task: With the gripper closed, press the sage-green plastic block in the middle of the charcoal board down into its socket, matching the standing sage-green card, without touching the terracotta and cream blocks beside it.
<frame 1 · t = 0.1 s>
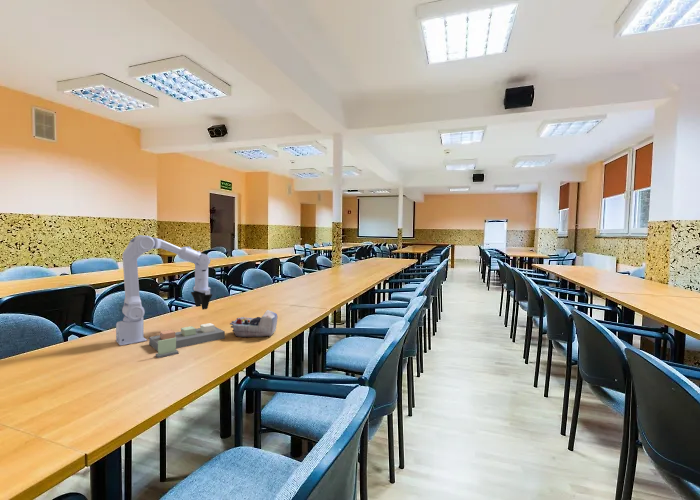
hand: (201, 307, 160), 10 cm above the table, tool pointing down, fingers open, 7 cm apart
terracotta block: (167, 336, 136), point 4 cm above the table, slide at 0.0 cm, touching button board
prompt card: (167, 354, 126), on the table
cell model: (254, 335, 154), on the table
sage block: (188, 332, 142), point 4 cm above the table, slide at 0.0 cm
button board: (188, 341, 142), on the table
cream block: (207, 329, 148), point 4 cm above the table, slide at 0.0 cm, touching button board
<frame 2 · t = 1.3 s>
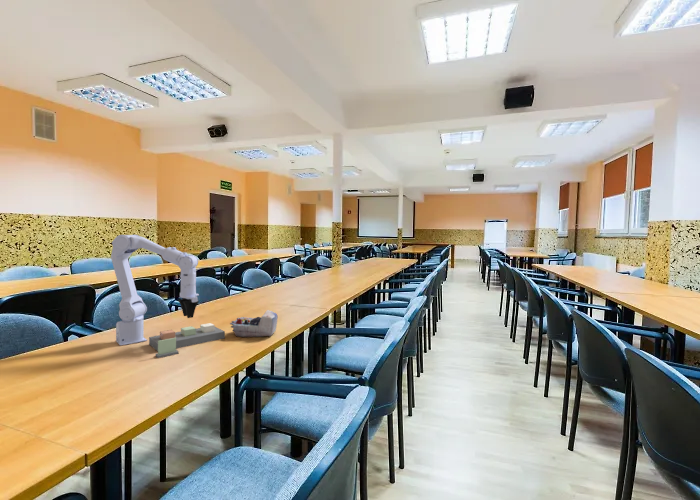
hand: (188, 316, 142), 10 cm above the table, tool pointing down, fingers open, 3 cm apart
nothing on the table moved.
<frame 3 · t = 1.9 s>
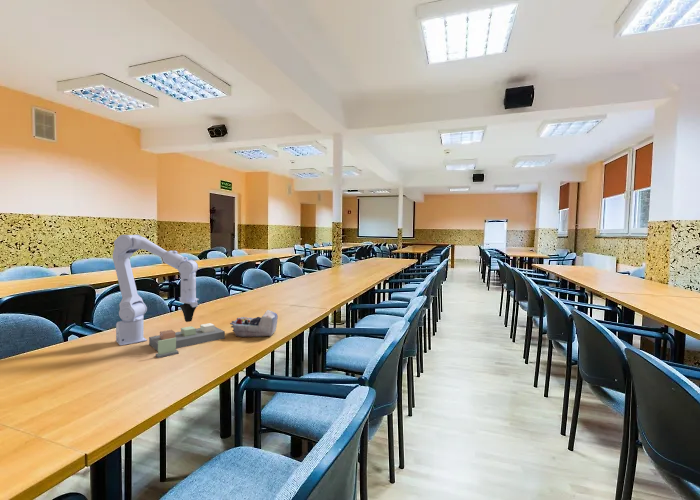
hand: (188, 321, 142), 8 cm above the table, tool pointing down, fingers closed
nothing on the table moved.
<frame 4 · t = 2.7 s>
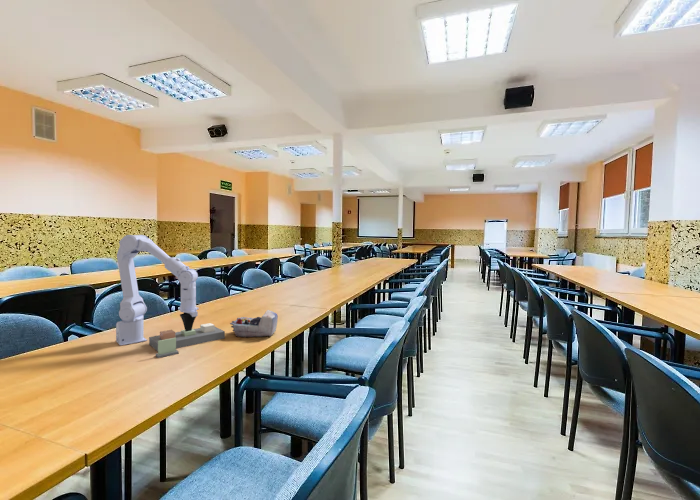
hand: (188, 330, 142), 5 cm above the table, tool pointing down, fingers closed, pressing on sage block
sage block: (188, 335, 142), point 3 cm above the table, slide at 1.0 cm, touching gripper
everything else where it was.
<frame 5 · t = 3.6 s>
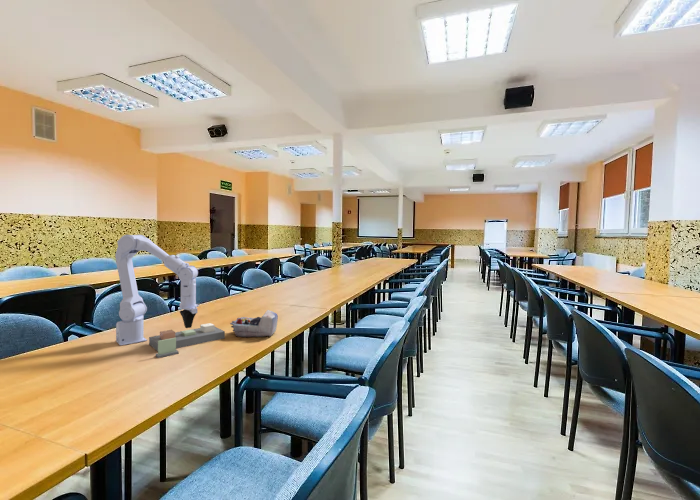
hand: (188, 327, 142), 6 cm above the table, tool pointing down, fingers closed
sage block: (188, 336, 142), point 2 cm above the table, slide at 1.3 cm
everything else where it was.
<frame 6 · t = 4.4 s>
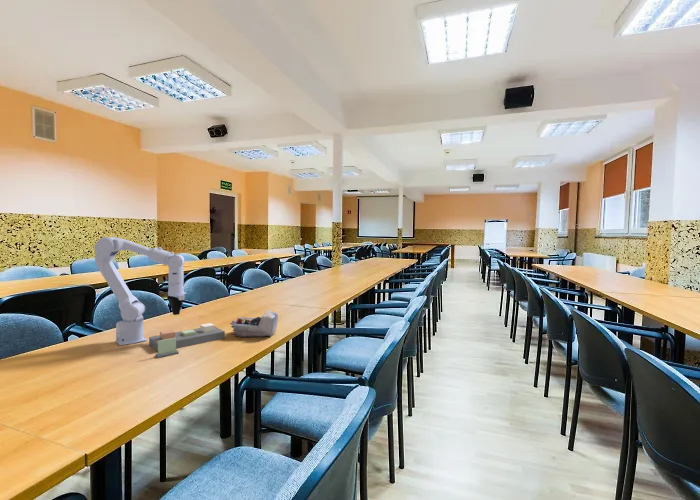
hand: (176, 314, 145), 10 cm above the table, tool pointing down, fingers closed
nothing on the table moved.
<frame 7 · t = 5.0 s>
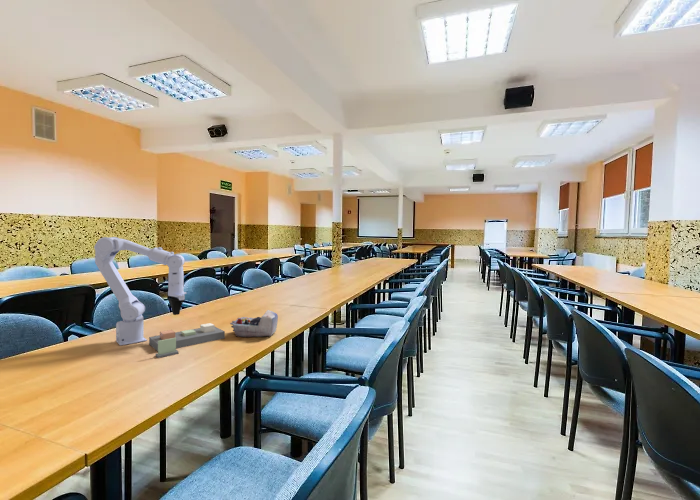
hand: (176, 314, 145), 10 cm above the table, tool pointing down, fingers closed
nothing on the table moved.
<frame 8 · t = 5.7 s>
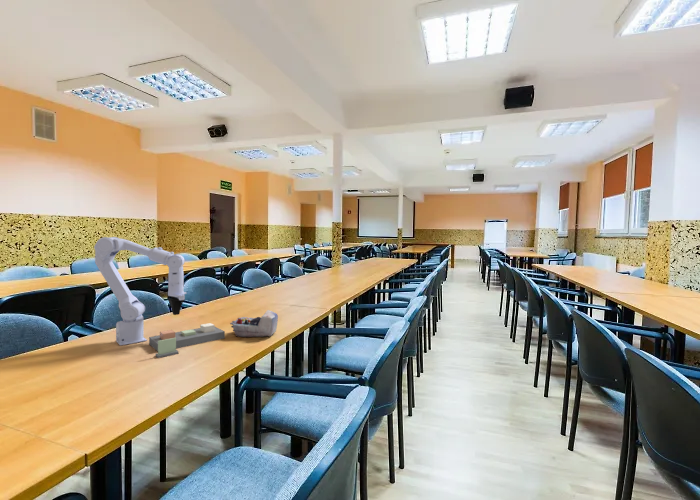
hand: (176, 314, 145), 10 cm above the table, tool pointing down, fingers closed
nothing on the table moved.
at the end: sage block slide at 1.3 cm; terracotta block slide at 0.0 cm; cream block slide at 0.0 cm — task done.
